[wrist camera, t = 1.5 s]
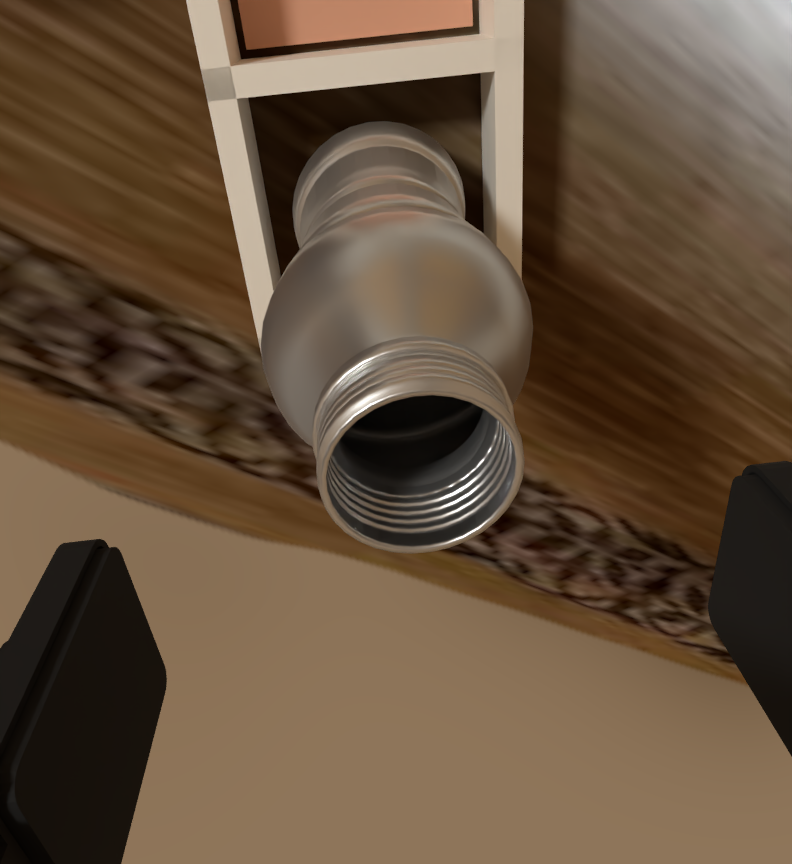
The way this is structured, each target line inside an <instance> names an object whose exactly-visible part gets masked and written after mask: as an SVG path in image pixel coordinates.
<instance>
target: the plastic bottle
mask: <svg viewBox="0 0 792 864" xmlns="http://www.w3.org/2000/svg"><path fill="white" fill-rule="evenodd" d="M292 212H293V223H294V230H295V234H296V238H297V241H298V245H299V248H300V250H299V251H298V252H297V254H296V255H295V256H294V258H293V259H292V261H291V262H290V263H289V264H288V266H287V268H286V269H285V271H284V273H283V275H282V276H281V278H280V280H279V282H278V283H277V285H276V287H275V290H274V292H273V294H272V296H271V299H270V302H269V305H268V308H267V311H266V314H265V317H264V320H263V326H262V337H261V354H262V362H263V370H264V373H265V376H266V378H267V381H268V384H269V387H270V390H271V392H272V395H273V397H274V399H275V402H276V404H277V406H278V408H279V410H280V411H281V413H282V414H283V416H284V418H285V419H286V421H287V422H288V424H289V425H290V427H291V428H292V429H293V430H294V431H295V432H296V433H297V434H298V435H299V436H300V437H301V438H302V439H303V440H304V441H305V442H306V443H308V444H309V445H311V446H312V447H313V450H314V454H315V457H316V460H317V469H316V471H317V482H318V488H319V491H320V495H321V498H322V501H323V503H324V506H325V509H326V510H327V512H328V513H329V515H330V516H331V518H332V519H333V521H334V522H335V523H336V524H337V525H338V526H339V527H340V528H341V529H342V530H343V531H344V532H345V533H347V534H348V535H350V536H352V537H353V538H355V539H356V540H358V541H359V542H362V543H364V544H367V545H369V546H372V547H374V548H377V549H381V550H386V551H390V552H398V553H423V552H432V551H437V550H441V549H445V548H449V547H452V546H455V545H457V544H460V543H462V542H465V541H467V540H469V539H471V538H473V537H474V536H476V535H478V534H480V533H481V532H483V531H484V530H486V529H487V528H488V527H489V526H491V525H492V524H493V523H494V522H496V521H497V520H498V519H499V518H500V516H501V515H502V514H503V513H504V512H505V511H506V510H507V509H508V507H509V506H510V504H511V502H512V501H513V499H514V497H515V496H516V494H517V492H518V489H519V487H520V484H521V481H522V478H523V470H524V452H523V445H522V438H521V436H520V433H519V431H518V428H517V426H516V424H515V419H514V412H513V404H514V403H515V401H516V399H517V397H518V395H519V393H520V392H521V390H522V387H523V384H524V381H525V378H526V375H527V371H528V368H529V362H530V354H531V345H532V335H533V321H532V313H531V304H530V301H529V298H528V295H527V293H526V290H525V287H524V284H523V282H522V280H521V278H520V276H519V275H518V273H517V272H516V270H515V269H514V267H513V266H512V264H511V263H510V261H509V260H508V258H507V257H506V256H505V255H504V254H503V253H502V252H501V250H500V249H499V248H498V247H497V246H496V245H495V244H494V243H493V242H492V241H491V240H490V239H489V238H487V237H486V236H485V235H484V234H483V233H482V232H481V231H479V230H478V229H476V228H475V227H474V226H472V225H471V224H469V223H468V222H467V221H465V197H464V190H463V184H462V180H461V178H460V175H459V172H458V170H457V167H456V165H455V163H454V162H453V160H452V159H451V157H450V156H449V154H448V153H447V151H446V150H445V149H444V148H443V147H442V146H441V145H440V144H439V143H438V142H437V141H436V140H435V139H433V138H432V137H430V136H429V135H427V134H426V133H424V132H423V131H421V130H419V129H416V128H414V127H411V126H408V125H406V124H402V123H396V122H389V121H378V122H366V123H363V124H359V125H355V126H352V127H349V128H347V129H345V130H343V131H341V132H339V133H337V134H335V135H334V136H332V137H331V138H330V139H329V140H327V141H326V142H325V143H324V144H322V145H321V146H320V147H319V148H318V149H317V150H316V152H315V153H314V154H313V155H312V156H311V157H310V159H309V160H308V161H307V163H306V165H305V167H304V169H303V170H302V172H301V174H300V176H299V179H298V182H297V185H296V188H295V192H294V199H293V208H292Z"/></svg>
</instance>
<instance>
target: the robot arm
mask: <svg viewBox="0 0 792 864" xmlns="http://www.w3.org/2000/svg"><path fill="white" fill-rule="evenodd" d="M708 611H709V616H710V620H711V623H712V625H713V627H714V629H715V631H716V632H717V634H718V636H719V637H720V639H721V640H722V642H723V644H724V645H725V647H726V649H727V650H728V652H729V654H730V655H731V657H732V659H733V660H734V662H735V664H736V665H737V667H738V669H739V670H740V672H741V673H742V675H743V677H744V678H745V680H746V682H747V683H748V685H749V687H750V688H751V690H752V692H753V693H754V695H755V696H756V698H757V700H758V701H759V703H760V705H761V706H762V708H763V710H764V711H765V713H766V715H767V716H768V718H769V720H770V721H771V723H772V725H773V726H774V728H775V730H776V731H777V733H778V734H779V736H780V738H781V739H782V741H783V743H784V744H785V746H786V748H787V749H788V751H789V753H790V754H791V756H792V463H791V462H788V461H782V462H773V463H764V464H755V465H750V466H747V467H746V468H745V469H744V471H743V473H742V476H737V477H735V479H734V480H733V482H732V486H731V491H730V496H729V501H728V506H727V511H726V516H725V521H724V526H723V531H722V536H721V541H720V546H719V552H718V557H717V562H716V567H715V572H714V577H713V582H712V587H711V592H710V597H709V603H708ZM166 680H167V678H166V669H165V666H164V663H163V660H162V658H161V655H160V652H159V650H158V648H157V645H156V642H155V640H154V637H153V634H152V632H151V630H150V627H149V624H148V621H147V619H146V616H145V614H144V611H143V608H142V606H141V603H140V601H139V598H138V596H137V593H136V590H135V588H134V585H133V583H132V580H131V577H130V575H129V573H128V570H127V567H126V565H125V562H124V559H123V557H122V554H121V552H120V550H119V549H118V548H116V547H111V548H109V547H108V545H107V543H106V542H105V541H104V540H101V539H96V540H87V541H78V542H69V543H63V544H61V545H60V546H59V547H58V548H57V550H56V552H55V554H54V555H53V557H52V559H51V561H50V563H49V565H48V567H47V568H46V570H45V572H44V574H43V576H42V578H41V580H40V582H39V584H38V586H37V587H36V589H35V591H34V593H33V595H32V597H31V599H30V601H29V603H28V604H27V606H26V608H25V610H24V612H23V614H22V616H21V618H20V619H19V621H18V623H17V625H16V627H15V629H14V631H13V633H12V635H11V637H10V639H9V640H8V641H7V642H5V643H4V644H3V645H2V647H1V648H0V864H121V862H122V858H123V854H124V850H125V846H126V842H127V838H128V835H129V831H130V827H131V823H132V819H133V815H134V811H135V808H136V803H137V800H138V796H139V792H140V788H141V784H142V780H143V776H144V773H145V769H146V765H147V761H148V757H149V753H150V749H151V746H152V741H153V738H154V734H155V730H156V726H157V722H158V718H159V714H160V711H161V707H162V703H163V699H164V695H165V690H166V682H167V681H166Z"/></svg>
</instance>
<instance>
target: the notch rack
mask: <svg viewBox="0 0 792 864" xmlns="http://www.w3.org/2000/svg"><path fill="white" fill-rule="evenodd" d="M186 2H187V7H188V11H189V16H190V21H191V25H192V30H193V35H194V39H195V44H196V49H197V54H198V58H199V63H200V68H201V72H202V77H203V82H204V86H205V91H206V96H207V101H208V105H209V110H210V115H211V119H212V124H213V129H214V134H215V138H216V143H217V148H218V152H219V157H220V162H221V166H222V171H223V176H224V181H225V185H226V190H227V195H228V199H229V204H230V209H231V213H232V218H233V223H234V228H235V232H236V237H237V242H238V246H239V251H240V256H241V260H242V265H243V270H244V275H245V279H246V284H247V289H248V293H249V298H250V303H251V308H252V312H253V317H254V322H255V326H256V331H257V336H258V340H259V345H260V350H261V337H262V326H263V320H264V317H265V314H266V311H267V308H268V305H269V302H270V299H271V296H272V294H273V292H274V290H275V287H276V285H277V283H278V282H279V280H280V278H281V274H280V268H279V263H278V257H277V252H276V246H275V241H274V236H273V230H272V225H271V219H270V214H269V208H268V203H267V197H266V192H265V187H264V181H263V176H262V170H261V165H260V159H259V154H258V148H257V143H256V138H255V132H254V127H253V121H252V116H251V110H250V105H249V100H248V97H258V96H267V95H276V94H286V93H295V92H305V91H314V90H324V89H333V88H342V87H352V86H361V85H371V84H380V83H389V82H399V81H408V80H418V79H427V78H437V77H446V76H455V75H465V74H474V73H480V74H481V121H482V169H483V216H484V235H485V236H486V237H487V238H489V239H490V240H491V241H492V242H493V243H494V244H495V245H496V246H497V247H498V248H499V249H500V250H501V252H502V253H503V254H504V255H505V256H506V257H507V258H508V260H509V261H510V263H511V264H512V266H513V267H514V269H515V270H516V272H517V273H518V275H519V276H520V278H521V280H522V179H523V61H524V0H479V26H480V34H476V35H466V36H457V37H447V38H438V39H429V40H419V41H410V42H400V43H391V44H381V45H372V46H362V47H353V48H343V49H334V50H324V51H315V52H306V53H296V54H287V55H277V56H268V57H258V58H249V59H241V56H240V51H239V45H238V40H237V34H236V29H235V23H234V18H233V12H232V7H231V2H230V0H186ZM238 5H239V11H240V16H241V22H242V27H243V33H244V39H245V44H246V50H251V49H260V48H270V47H279V46H289V45H298V44H308V43H317V42H326V41H336V40H345V39H355V38H364V37H374V36H383V35H393V34H402V33H412V32H421V31H431V30H440V29H450V28H459V27H469V26H473V15H472V0H238ZM261 355H262V354H261Z"/></svg>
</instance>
